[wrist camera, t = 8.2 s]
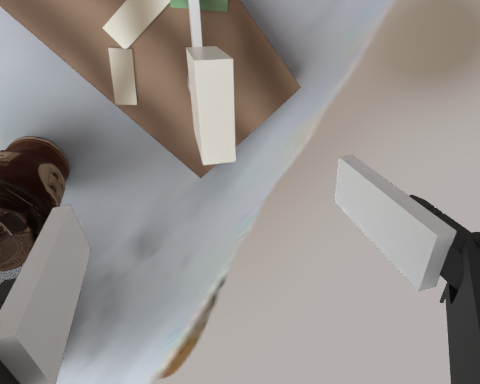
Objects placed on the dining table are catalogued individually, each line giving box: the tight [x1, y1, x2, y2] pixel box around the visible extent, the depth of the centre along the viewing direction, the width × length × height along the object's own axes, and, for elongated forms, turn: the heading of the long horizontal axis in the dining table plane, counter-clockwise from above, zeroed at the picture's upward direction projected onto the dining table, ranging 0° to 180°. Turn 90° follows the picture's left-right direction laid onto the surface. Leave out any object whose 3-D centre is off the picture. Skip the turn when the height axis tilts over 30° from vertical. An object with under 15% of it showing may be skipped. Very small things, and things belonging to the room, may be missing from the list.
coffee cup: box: [0, 137, 69, 271], centre depth 28 cm, size 9×8×13 cm
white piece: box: [186, 0, 236, 165], centre depth 24 cm, size 2×12×12 cm, turn 0°
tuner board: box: [0, 0, 301, 178], centre depth 28 cm, size 15×28×3 cm, turn 40°
